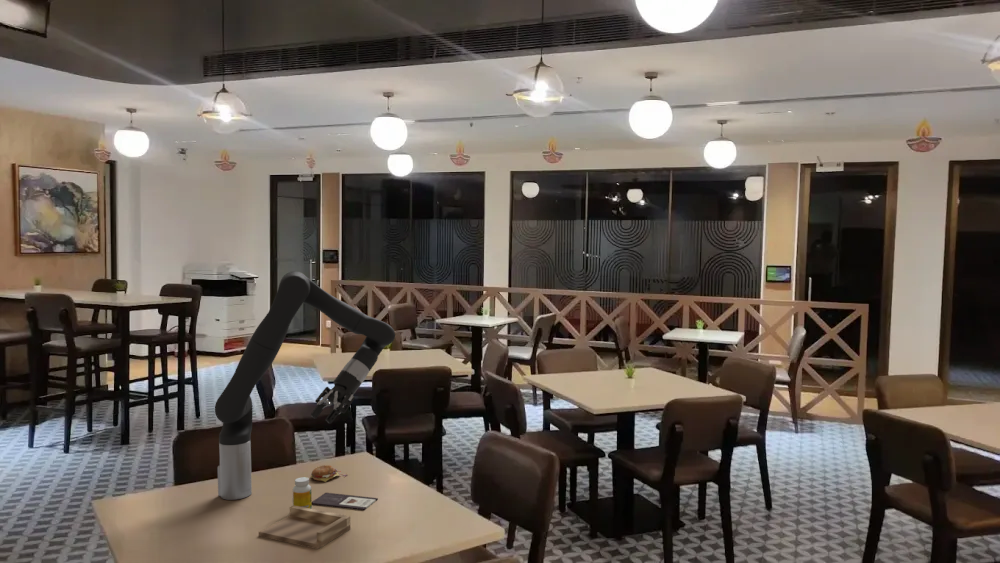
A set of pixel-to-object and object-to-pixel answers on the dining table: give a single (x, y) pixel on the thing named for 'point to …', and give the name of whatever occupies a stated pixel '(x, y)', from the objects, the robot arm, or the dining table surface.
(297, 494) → the supplement bottle
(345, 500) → the chocolate bar
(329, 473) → the hamburger
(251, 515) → the dining table surface
